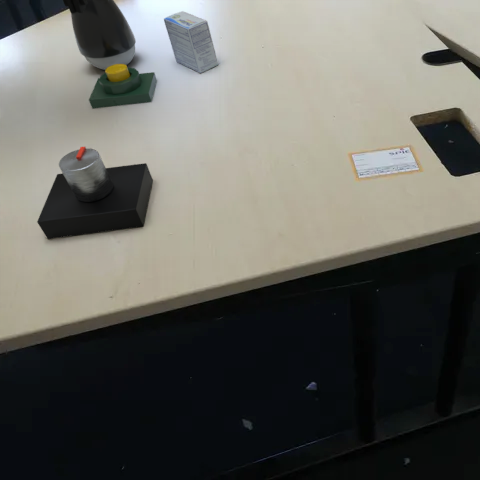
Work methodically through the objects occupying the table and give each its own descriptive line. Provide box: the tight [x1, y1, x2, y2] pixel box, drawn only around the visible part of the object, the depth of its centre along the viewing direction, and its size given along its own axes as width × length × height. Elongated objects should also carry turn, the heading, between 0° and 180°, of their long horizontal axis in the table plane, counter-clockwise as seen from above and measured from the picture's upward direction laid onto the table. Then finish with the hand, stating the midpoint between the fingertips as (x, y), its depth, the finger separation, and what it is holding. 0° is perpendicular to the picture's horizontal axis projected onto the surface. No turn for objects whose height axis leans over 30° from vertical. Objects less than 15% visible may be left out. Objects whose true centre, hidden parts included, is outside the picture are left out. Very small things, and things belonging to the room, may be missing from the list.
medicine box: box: [163, 10, 219, 74], centre depth 99 cm, size 8×4×9 cm, turn 48°
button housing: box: [88, 66, 158, 110], centre depth 93 cm, size 10×8×4 cm
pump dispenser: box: [70, 0, 136, 71], centre depth 98 cm, size 10×10×15 cm
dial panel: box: [36, 162, 154, 240], centre depth 71 cm, size 12×10×3 cm
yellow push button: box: [104, 64, 130, 82], centre depth 92 cm, size 4×4×2 cm
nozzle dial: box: [58, 146, 113, 202], centre depth 68 cm, size 5×5×5 cm
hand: (78, 10), depth 83 cm, fingers closed
